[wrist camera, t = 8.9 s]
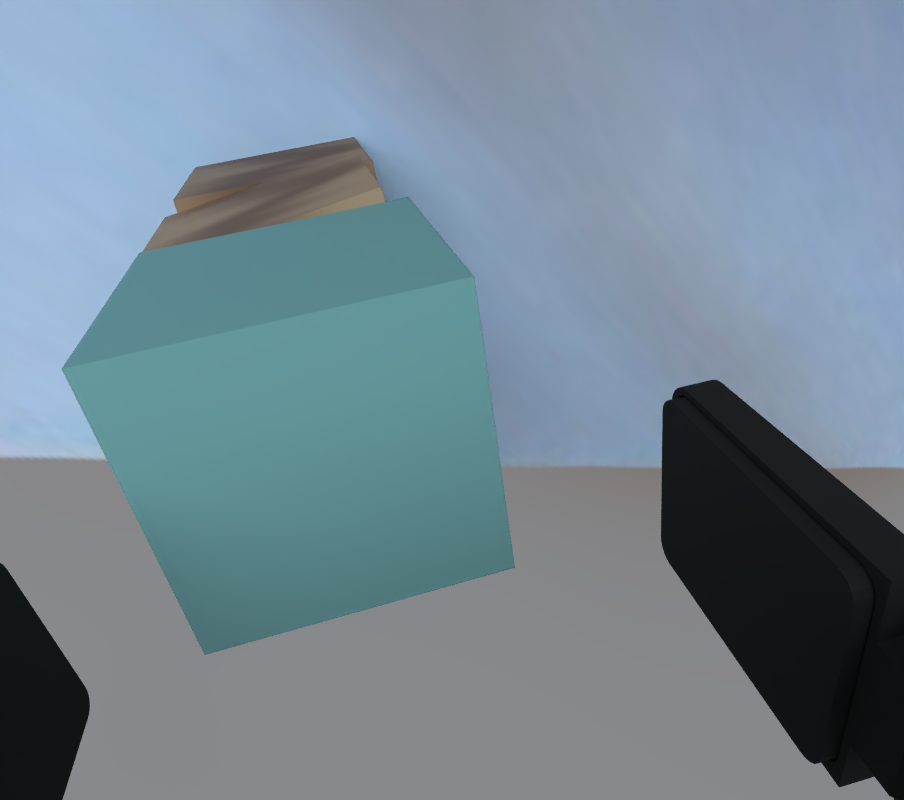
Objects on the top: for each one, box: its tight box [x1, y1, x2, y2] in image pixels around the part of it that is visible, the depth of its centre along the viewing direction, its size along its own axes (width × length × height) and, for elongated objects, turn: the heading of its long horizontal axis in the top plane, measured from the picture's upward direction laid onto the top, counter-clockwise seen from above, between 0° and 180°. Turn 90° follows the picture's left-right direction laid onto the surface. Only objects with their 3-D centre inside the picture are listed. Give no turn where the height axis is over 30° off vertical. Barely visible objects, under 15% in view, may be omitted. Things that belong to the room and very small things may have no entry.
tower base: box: [173, 137, 376, 213], centre depth 24 cm, size 6×6×6 cm
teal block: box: [62, 197, 515, 655], centre depth 14 cm, size 6×6×6 cm
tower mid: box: [143, 150, 386, 252], centre depth 19 cm, size 6×6×6 cm
